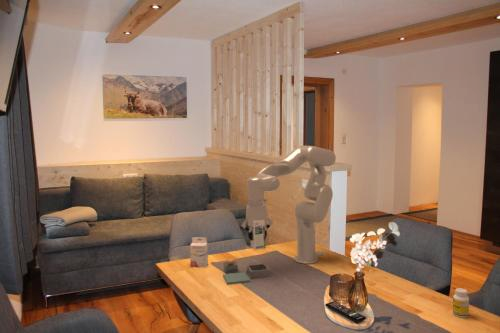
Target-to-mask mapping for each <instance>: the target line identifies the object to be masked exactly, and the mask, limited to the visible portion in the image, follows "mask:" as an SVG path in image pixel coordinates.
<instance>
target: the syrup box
mask: <svg viewBox="0 0 500 333" xmlns="http://www.w3.org/2000/svg"><path fill="white" fill-rule="evenodd" d="M251 232H252V241H251V240H250V247H251V249H253V250H254V251H257V250H259V251H260V250H264V249H266V239H265V221H264V220H256V221H253V227H252V230H251Z"/></svg>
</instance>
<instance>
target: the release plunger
mask: <svg viewBox="0 0 500 333" xmlns="http://www.w3.org/2000/svg"><path fill="white" fill-rule="evenodd" d="M234 261H235V258H234V257H228V258H226V260H225V262H227V263H228V264H229V265H231V264H232V263H234Z"/></svg>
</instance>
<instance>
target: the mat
mask: <svg viewBox="0 0 500 333" xmlns="http://www.w3.org/2000/svg"><path fill="white" fill-rule="evenodd" d="M222 277H223V280H224V281H225V283H226V285H227V286H228V285H235V284H236V285H237V284H244V283H251V278H250V276H249V275H248V273H247V272H245V271H243V272H242V271H241V272H238V273H231V274H226V273H225V274H222Z"/></svg>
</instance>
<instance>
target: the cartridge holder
mask: <svg viewBox="0 0 500 333" xmlns="http://www.w3.org/2000/svg"><path fill="white" fill-rule="evenodd" d="M270 271H271V270H270V268H269V267H268V265H266V264H265V263H257V264H255V263H254V264H248V265H246V274H247V276H248V277H249V279H250V280H253V279H259V278H268V277H270V276H271V274H270V273H271V272H270ZM252 278H253V279H252Z"/></svg>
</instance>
